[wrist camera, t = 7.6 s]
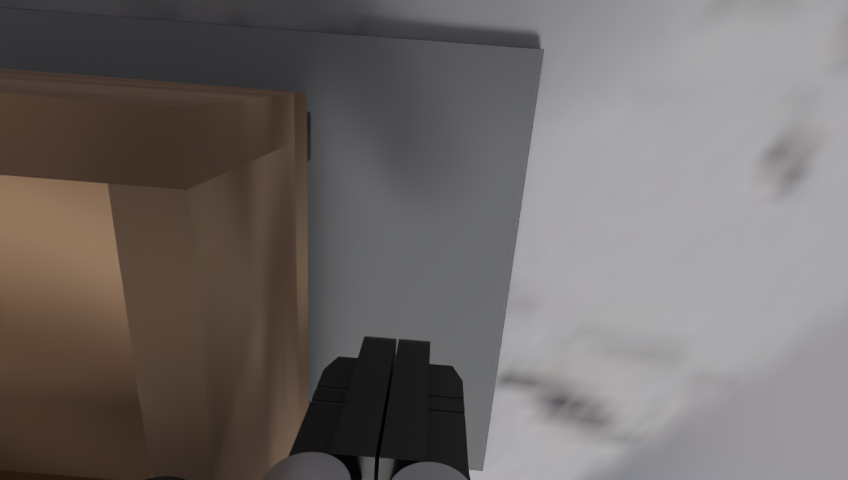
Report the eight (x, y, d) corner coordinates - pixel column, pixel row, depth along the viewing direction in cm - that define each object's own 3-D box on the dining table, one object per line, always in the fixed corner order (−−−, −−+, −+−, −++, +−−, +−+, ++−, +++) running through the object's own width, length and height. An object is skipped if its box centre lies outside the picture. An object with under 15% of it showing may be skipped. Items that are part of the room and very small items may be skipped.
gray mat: (-81, 2, 14) (-95, 0, 13) (541, 50, 14) (543, 49, 13) (24, 424, 19) (16, 431, 18) (481, 462, 18) (482, 470, 18)
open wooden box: (-82, 57, 14) (-818, 28, 6) (333, 90, 14) (178, 107, 6) (7, 403, 18) (-352, 673, 10) (329, 430, 17) (236, 724, 9)
